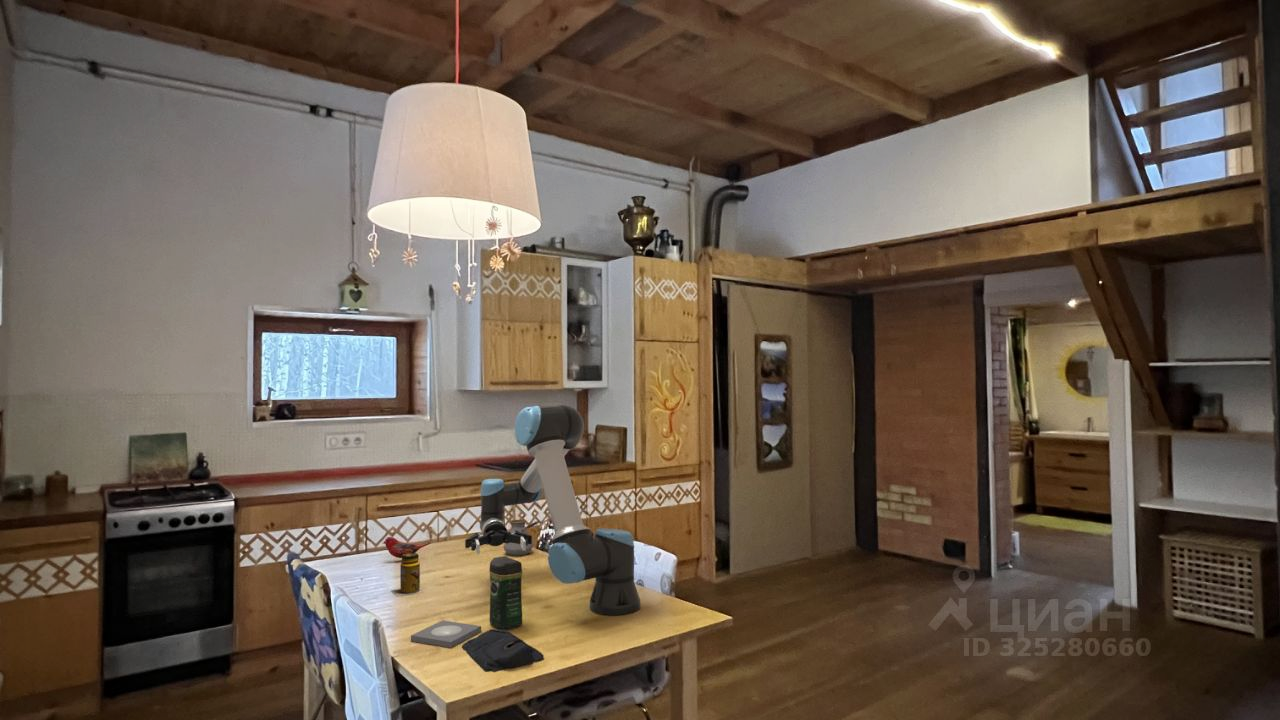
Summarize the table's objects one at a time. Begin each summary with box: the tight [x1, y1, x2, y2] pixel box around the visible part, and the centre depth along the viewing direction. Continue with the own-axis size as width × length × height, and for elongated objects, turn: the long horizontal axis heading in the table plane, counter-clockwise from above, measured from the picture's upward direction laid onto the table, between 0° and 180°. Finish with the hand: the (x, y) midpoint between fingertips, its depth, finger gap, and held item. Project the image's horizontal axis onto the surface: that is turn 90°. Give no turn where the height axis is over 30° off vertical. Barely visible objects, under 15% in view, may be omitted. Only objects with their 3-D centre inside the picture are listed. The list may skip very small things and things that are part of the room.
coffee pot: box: [503, 519, 542, 557], centre depth 285 cm, size 21×12×15 cm, turn 40°
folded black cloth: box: [461, 628, 544, 673], centre depth 184 cm, size 15×22×5 cm
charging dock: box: [410, 620, 482, 649], centre depth 196 cm, size 13×13×2 cm
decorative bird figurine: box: [382, 536, 432, 563], centre depth 277 cm, size 3×18×10 cm, turn 115°
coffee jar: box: [488, 555, 523, 630], centre depth 206 cm, size 10×8×19 cm
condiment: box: [391, 552, 424, 597], centre depth 238 cm, size 7×8×12 cm
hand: (501, 547), depth 218 cm, fingers open, 13 cm apart
